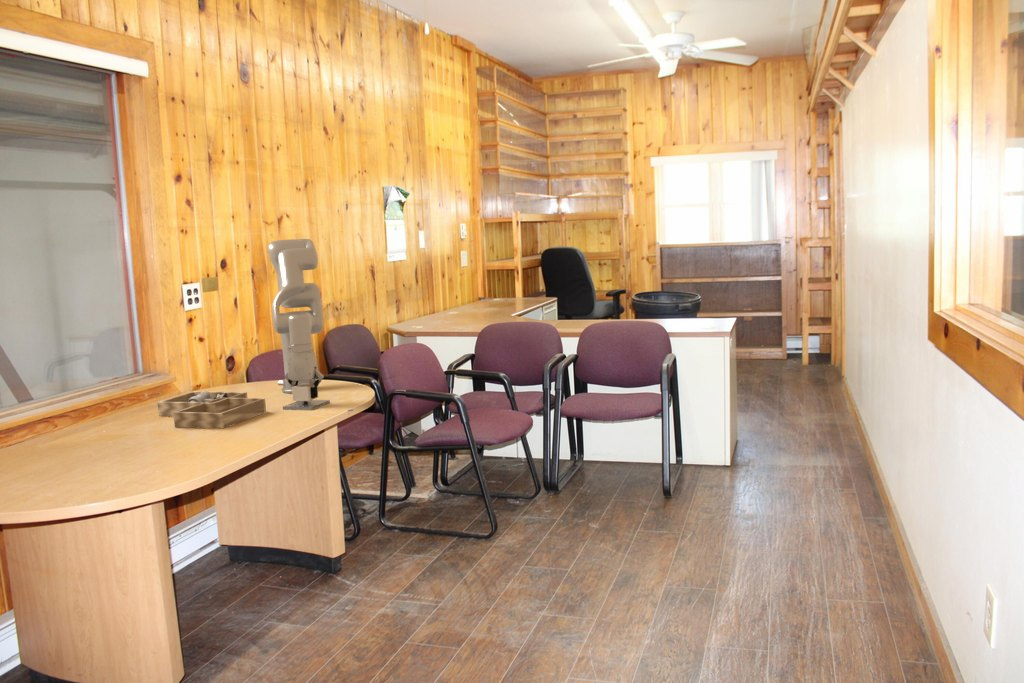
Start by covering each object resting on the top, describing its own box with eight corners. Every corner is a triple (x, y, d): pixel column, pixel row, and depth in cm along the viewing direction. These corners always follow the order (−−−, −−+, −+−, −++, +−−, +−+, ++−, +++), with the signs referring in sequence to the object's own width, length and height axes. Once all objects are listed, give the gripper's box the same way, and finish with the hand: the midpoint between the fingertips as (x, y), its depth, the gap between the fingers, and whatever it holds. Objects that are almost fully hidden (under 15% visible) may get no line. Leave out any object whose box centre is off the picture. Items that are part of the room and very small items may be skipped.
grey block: (303, 397, 305) (301, 381, 304) (319, 397, 303) (317, 381, 302) (293, 400, 299) (291, 384, 298) (309, 401, 297) (307, 385, 296)
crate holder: (158, 415, 298) (157, 402, 297) (194, 404, 315) (193, 391, 315) (214, 417, 290) (213, 403, 289) (248, 405, 308) (246, 392, 307)
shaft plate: (282, 409, 298) (281, 394, 297) (301, 402, 309) (300, 387, 308) (311, 410, 294) (310, 394, 293) (329, 402, 305) (328, 388, 304)
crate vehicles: (174, 427, 278) (173, 412, 277) (221, 411, 300) (220, 397, 300) (222, 428, 272) (220, 413, 271) (266, 412, 294) (264, 398, 293)
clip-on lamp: (206, 423, 294) (231, 401, 311) (204, 407, 292) (229, 386, 308) (175, 420, 296) (201, 399, 312) (173, 404, 293) (199, 383, 310)
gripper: (274, 350, 298) (279, 399, 300) (316, 350, 292) (321, 400, 294) (286, 347, 305) (291, 395, 307) (328, 346, 299) (332, 395, 301)
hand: (305, 397), depth 301 cm, fingers closed on grey block, 6 cm apart
